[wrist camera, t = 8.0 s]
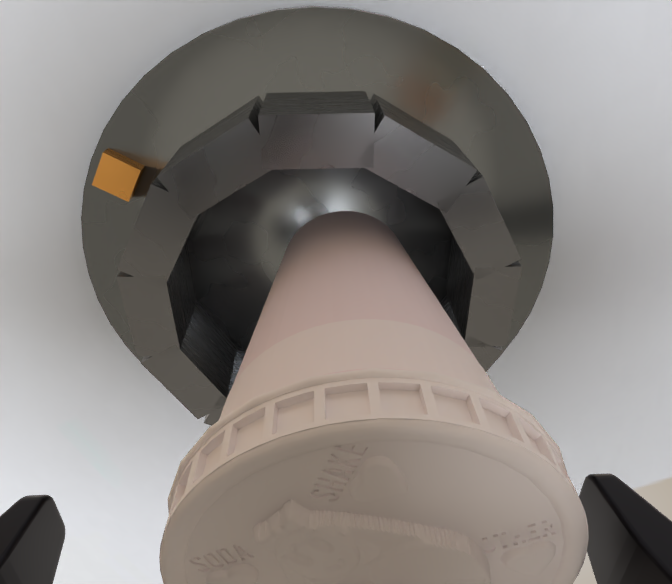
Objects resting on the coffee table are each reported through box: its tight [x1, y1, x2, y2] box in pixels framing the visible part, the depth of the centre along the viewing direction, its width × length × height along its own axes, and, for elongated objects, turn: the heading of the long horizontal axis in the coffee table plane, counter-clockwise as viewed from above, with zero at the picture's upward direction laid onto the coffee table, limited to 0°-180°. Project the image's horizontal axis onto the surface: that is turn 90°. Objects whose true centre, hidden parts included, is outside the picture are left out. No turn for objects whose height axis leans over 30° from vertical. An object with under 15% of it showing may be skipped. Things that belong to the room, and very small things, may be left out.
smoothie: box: [159, 211, 589, 584], centre depth 10 cm, size 6×6×14 cm
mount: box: [81, 6, 553, 426], centre depth 15 cm, size 14×14×3 cm
